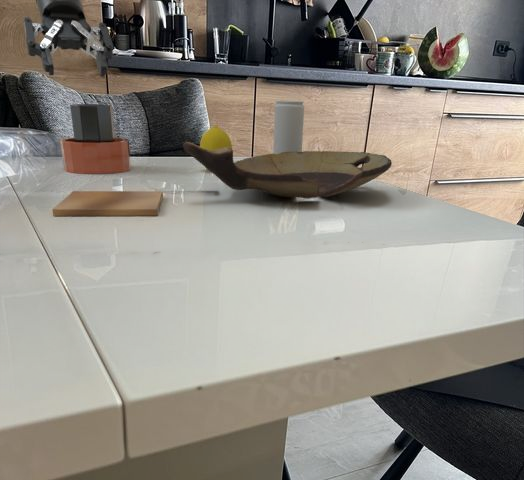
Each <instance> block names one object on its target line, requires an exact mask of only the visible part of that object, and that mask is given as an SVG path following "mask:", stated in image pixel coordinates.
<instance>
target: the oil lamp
mask: <svg viewBox="0 0 524 480" xmlns="http://www.w3.org/2000/svg"><path fill="white" fill-rule="evenodd" d="M182 147H183V150H185V152H186V153H188V155H190V156H191V157H193V159H195V160H196V161H197V162H198V163H199V164H200V165H202V166H203V167H204V168H205V167H206V168H205V169H206V170H208V171H209V172H211V173H212V174H213V175H215V177H217V179H219V180H220V181H221V182H222V183H223V184H224V185H226V186H227V187H228V188H230V189H232V190H236V191H245V190H255V191H258V192H259V191H260V192H261V193H266V194H269V195H274V196H277V197H281V198H282V197H283V198H290V199H291V198H293V199H294V198H301V199H303V200H304V199H307V200H309V199H316V198H318V197H320V196H321V197H323V198H326V197H331V196H336V195H339V194H343V193H345V192H348V191H351V190H353V189H356V188H358V187H361V186H364V185H365V184H367V183H369V182H371V181H373V180H375V179H377V178H379V177H380V176H382V175H383V174H385V173H386V172H387V171H389V169H390V168H391V167H392V163H393V162H392V160H391V159H390V158H389V157H387V155H384V154H377V153H371V152H366V151H365V152H364V151H335V150H334V151H333V150H332V151H331V150H328V151H327V150H322V151H321V150H319V151H317V150H313V151H312V150H311V151H309V150H306V151H304V150H303V151H302V152H297V151H296V152H282V153H279V154H274V153H273V152H272V153H268V154H262V155H256V156H251V157H246V158H243V159H240V160H237V161H234V150H233V147H232V148H230V147H224V148H221V149H218V150H214V151H211V150H207V149H204V148H201V147H200V145H197V144H195V143H193V142H190V141H185V142H184V143H183V145H182ZM360 165H362V166H360ZM359 166H360V167H359Z"/></svg>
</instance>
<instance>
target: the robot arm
mask: <svg viewBox="0 0 524 480" xmlns="http://www.w3.org/2000/svg"><path fill="white" fill-rule="evenodd" d="M35 3H36V5H37V9H38V12H39V17H40V20H41V21H40V22H39V23H37V22H33V20H32V19H31V18H30V17H25V18H23V21H24V24H23V26H24V36H25V41H26V47H27V53H28V55H29V56H30V57H36V56H38V57H39V58H40V60H41V64H42V68H43V71H44V72H45V73H48V76H54V75H55V68H54V67H55V66H54V63H53V58H52V55H54V53H55V52H56V51H57V50H58V48H60V50H73V51H80V50H81V51H82V52H83V53H84V54H85V55H87V56H91V57H92V58H93V59H95V63H96V67H97V71H98V74H99V77H100V78H105V76H106V75H107V74H108V68H109V67H108V66H109V64H108V61H107V60H113V55H114V54H113V53H114V43H113V41H112V38H111V35H110V33H109V30H108V28H107V27H108V26H107V25H106V24H105V22H99V23H98V26H91V25H90V24H89V22H87V18H86V15H85V11H84V7H83V5H82V1H81V0H35ZM40 33H41V34H42V35H43V36H44V38H43V39H42V41H41V42H40V43H38V42H36V39H37V36H38V35H39V34H40ZM99 42H100V43H99Z"/></svg>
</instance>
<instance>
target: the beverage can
mask: <svg viewBox="0 0 524 480" xmlns="http://www.w3.org/2000/svg"><path fill="white" fill-rule="evenodd" d="M273 115H274V116H273V152H272V154H273V153H274V154H279V153H282V152H296V151H297V152H303V135H304V120H305V119H304V117H305V106H304V100H275V104H274V114H273Z"/></svg>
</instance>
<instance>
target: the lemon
mask: <svg viewBox="0 0 524 480" xmlns="http://www.w3.org/2000/svg"><path fill="white" fill-rule="evenodd" d="M232 145H233V144H232V140H231V138H230V136H229V135H228V133H227V132H226V131H225V130H223V129H221V128H220V127H219V126H218V125H213V126H212V127H211V128H209V129H207V130H206V131H205V132H204V133H203V135H202V136H201V139H200V141H199V147H201V148H204V149H207V150H211V151H214V150H218V149H221V148H224V147H230V148H232V149H233V146H232ZM204 168H205V169H207V168H206V167H205V166H204Z"/></svg>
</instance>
